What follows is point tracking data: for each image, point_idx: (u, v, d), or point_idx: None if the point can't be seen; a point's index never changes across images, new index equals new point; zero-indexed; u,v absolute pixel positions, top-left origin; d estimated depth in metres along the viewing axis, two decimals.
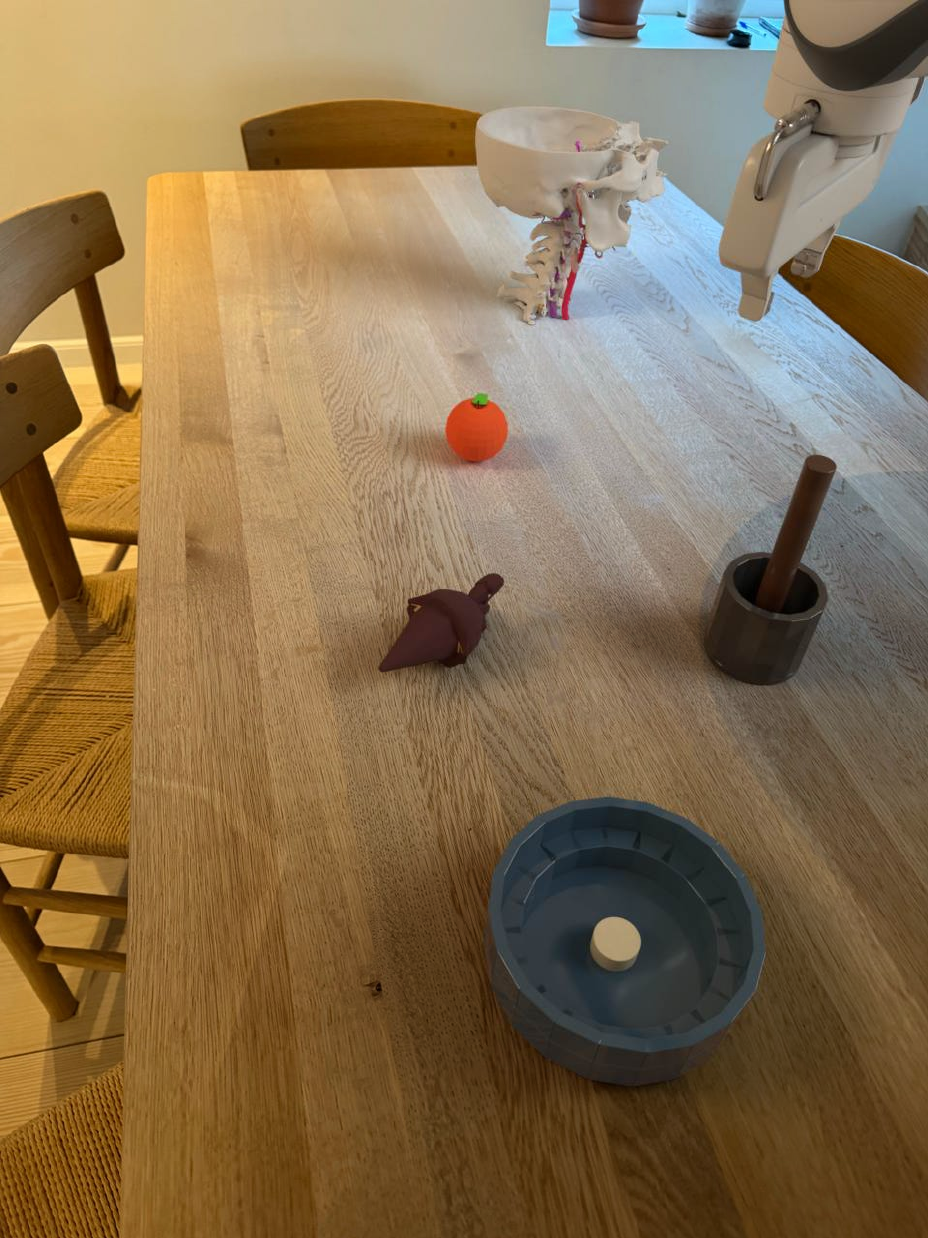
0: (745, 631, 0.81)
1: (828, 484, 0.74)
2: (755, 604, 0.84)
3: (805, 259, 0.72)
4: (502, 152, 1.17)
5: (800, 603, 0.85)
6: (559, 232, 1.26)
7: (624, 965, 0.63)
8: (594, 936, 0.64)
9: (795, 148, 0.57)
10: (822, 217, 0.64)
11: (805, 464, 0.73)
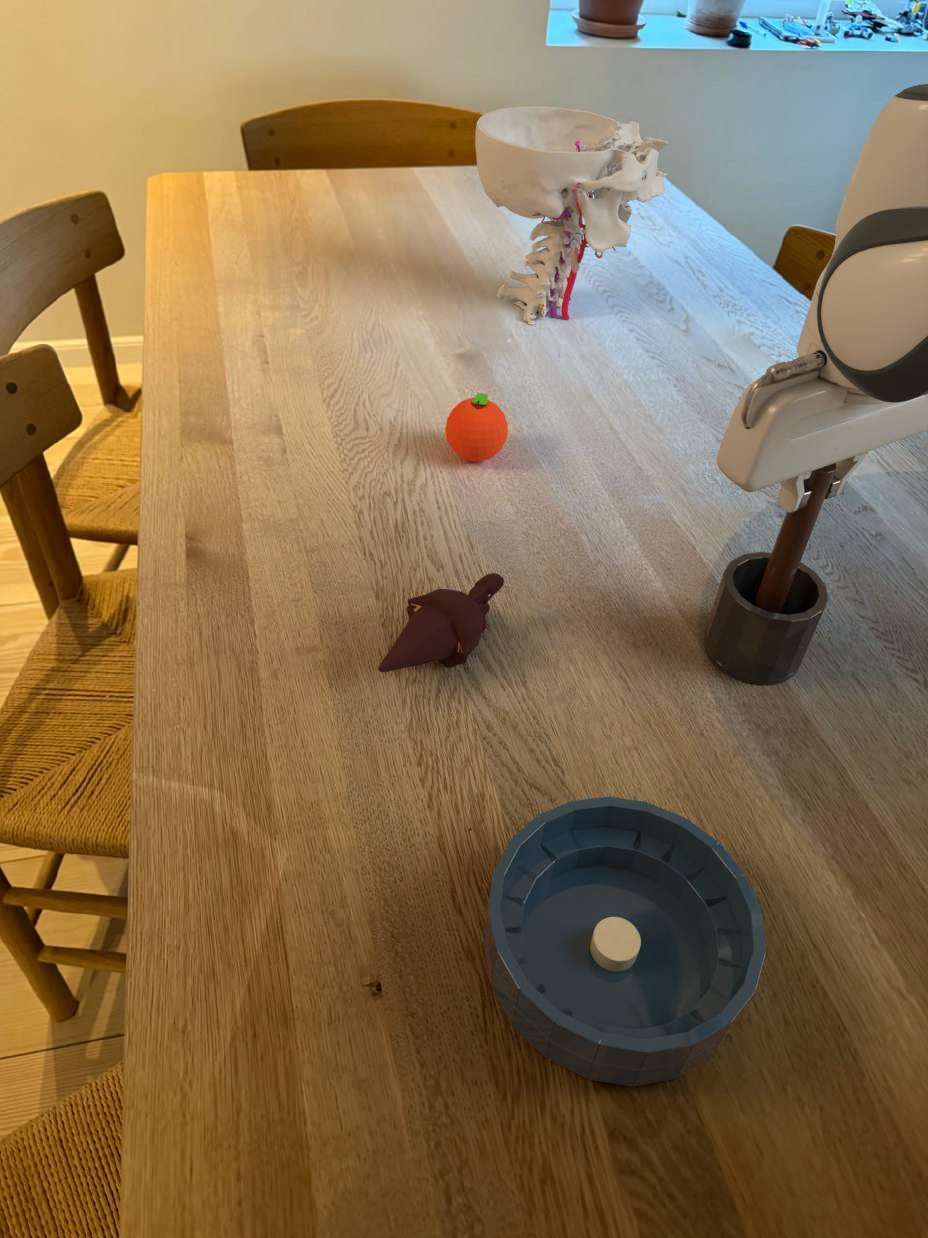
0: (745, 631, 0.81)
1: (828, 484, 0.74)
2: (755, 604, 0.84)
3: None
4: (502, 152, 1.17)
5: (800, 603, 0.85)
6: (559, 232, 1.26)
7: (624, 965, 0.63)
8: (594, 936, 0.64)
9: (786, 392, 0.64)
10: (838, 446, 0.70)
11: None
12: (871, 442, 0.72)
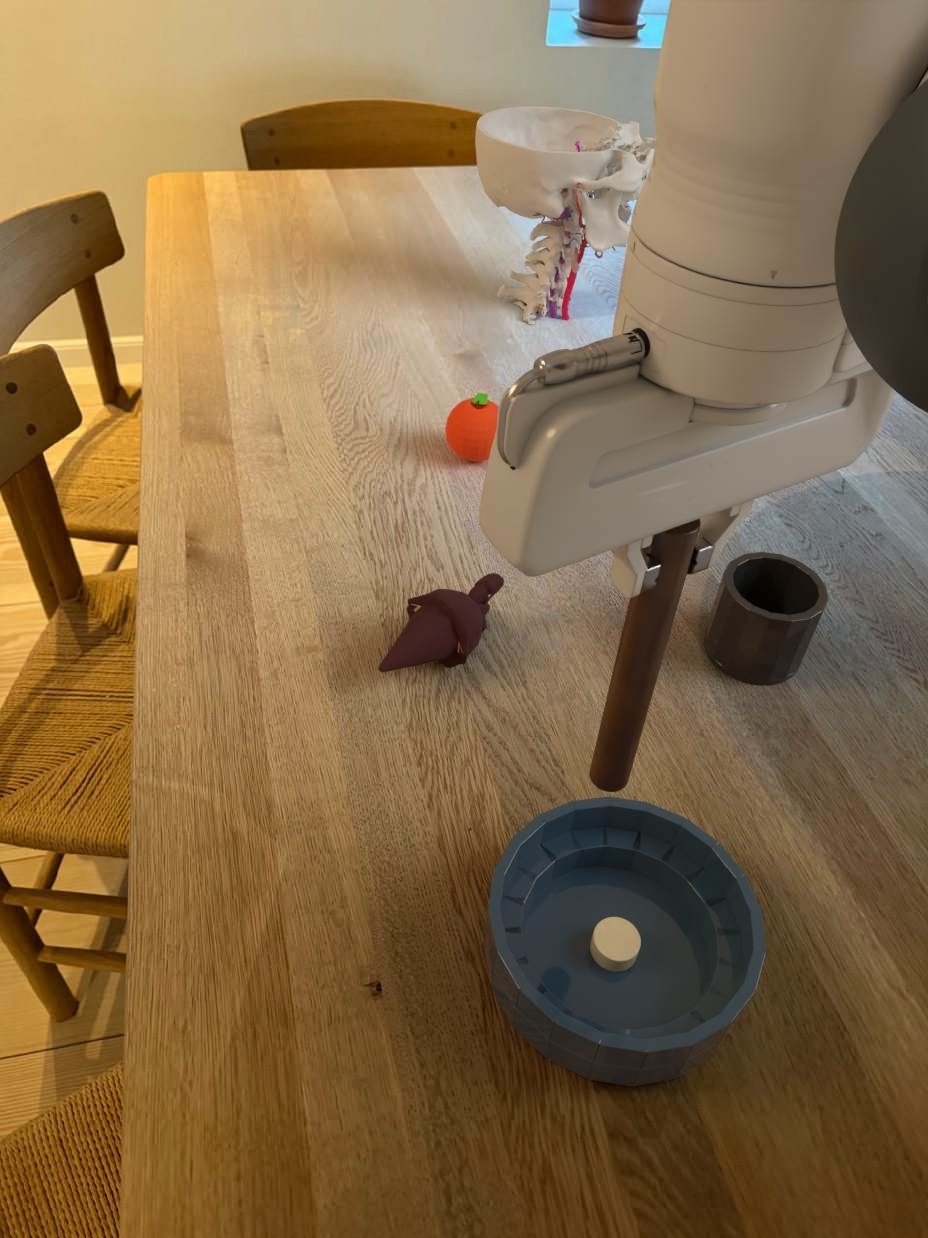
0: (745, 631, 0.81)
1: (688, 553, 0.45)
2: (602, 723, 0.55)
3: None
4: (502, 152, 1.17)
5: (800, 603, 0.85)
6: (559, 232, 1.26)
7: (624, 965, 0.63)
8: (594, 936, 0.64)
9: (572, 405, 0.35)
10: (691, 496, 0.41)
11: None
12: (754, 486, 0.43)
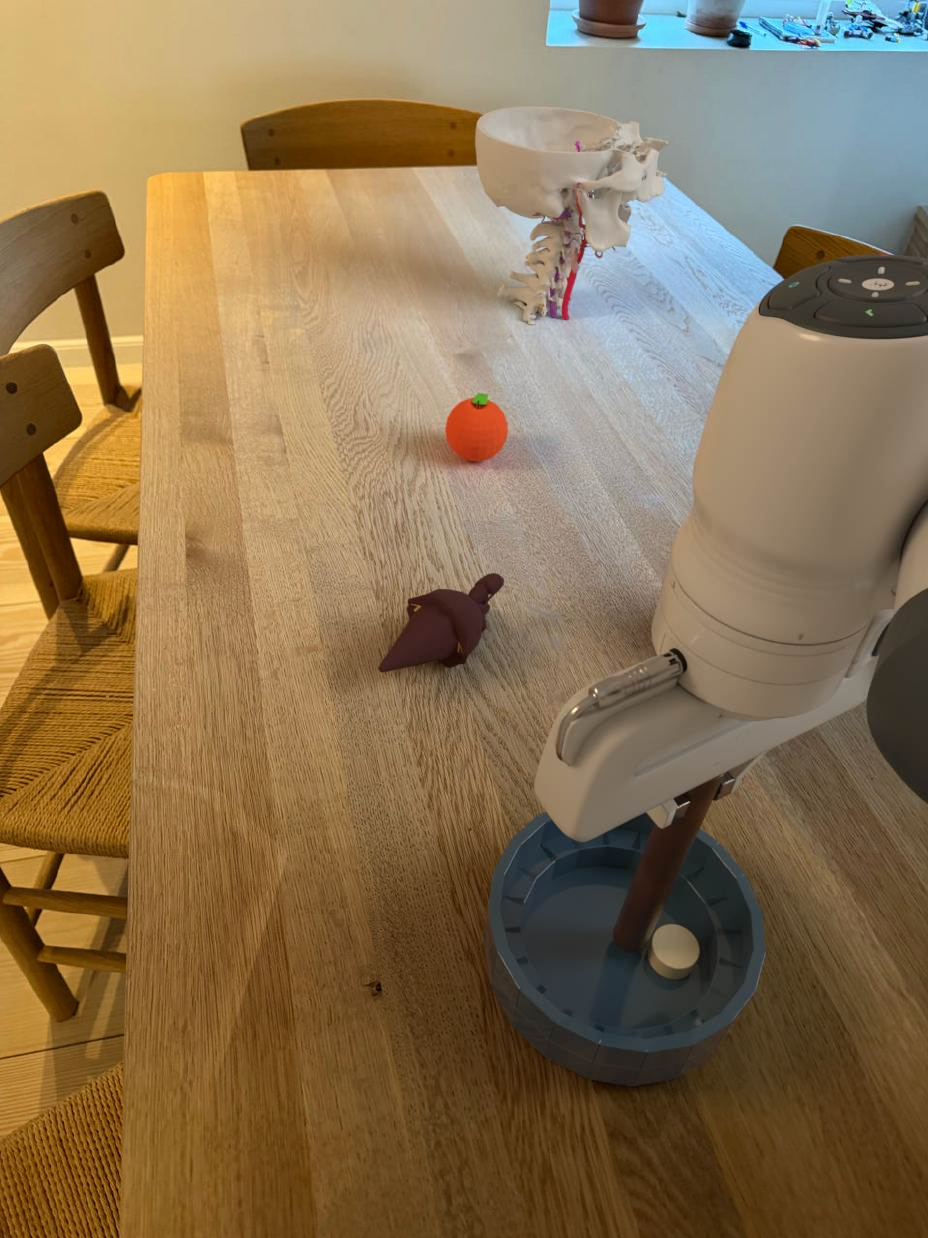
0: None
1: (715, 790, 0.50)
2: (627, 901, 0.61)
3: None
4: (502, 152, 1.17)
5: None
6: (559, 232, 1.26)
7: (681, 974, 0.63)
8: (652, 941, 0.64)
9: (621, 721, 0.41)
10: (719, 761, 0.47)
11: None
12: (773, 742, 0.49)
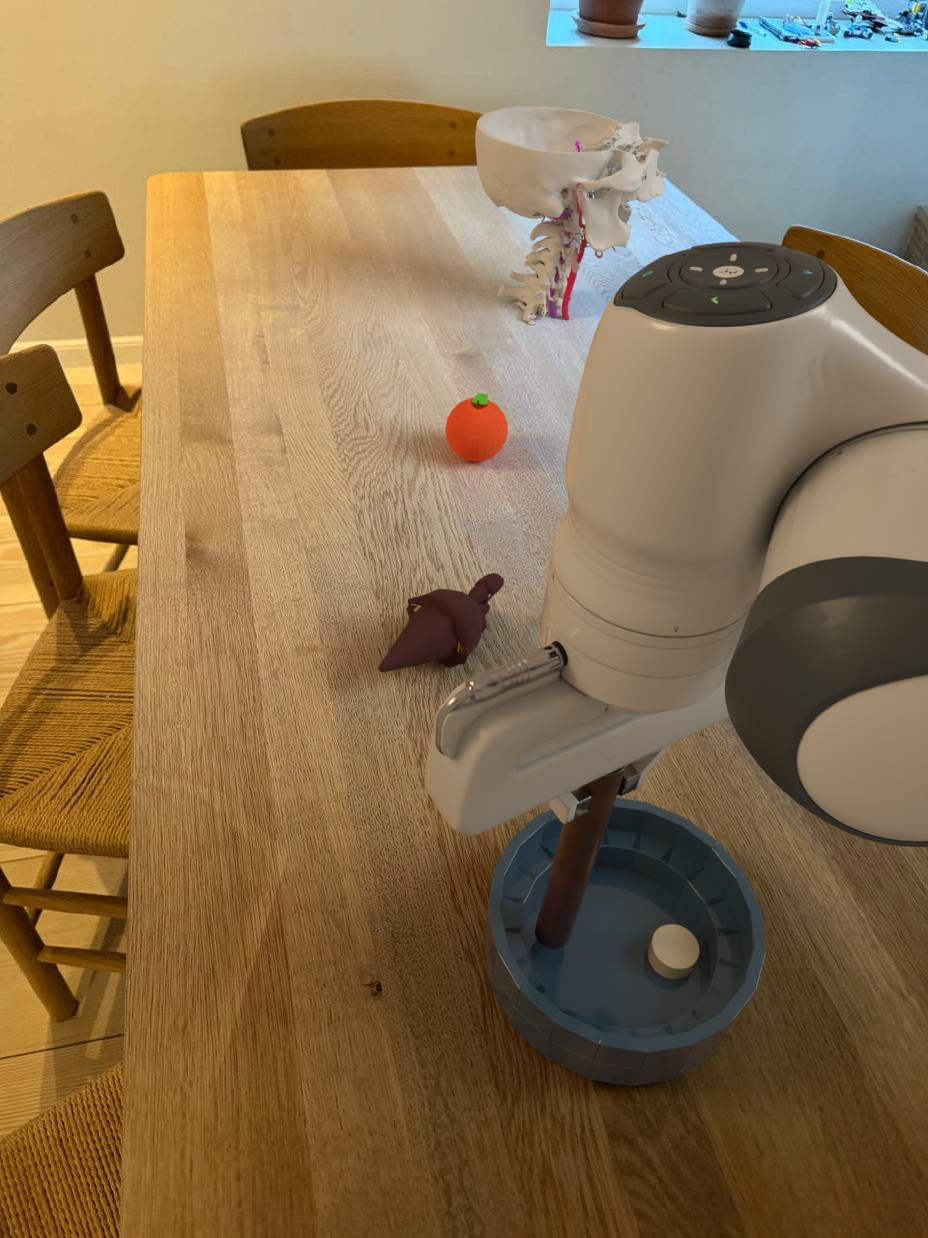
0: None
1: (616, 786, 0.50)
2: (545, 897, 0.60)
3: None
4: (502, 152, 1.17)
5: None
6: (559, 232, 1.26)
7: (681, 974, 0.63)
8: (652, 941, 0.64)
9: (499, 714, 0.40)
10: (613, 756, 0.46)
11: None
12: (671, 736, 0.48)
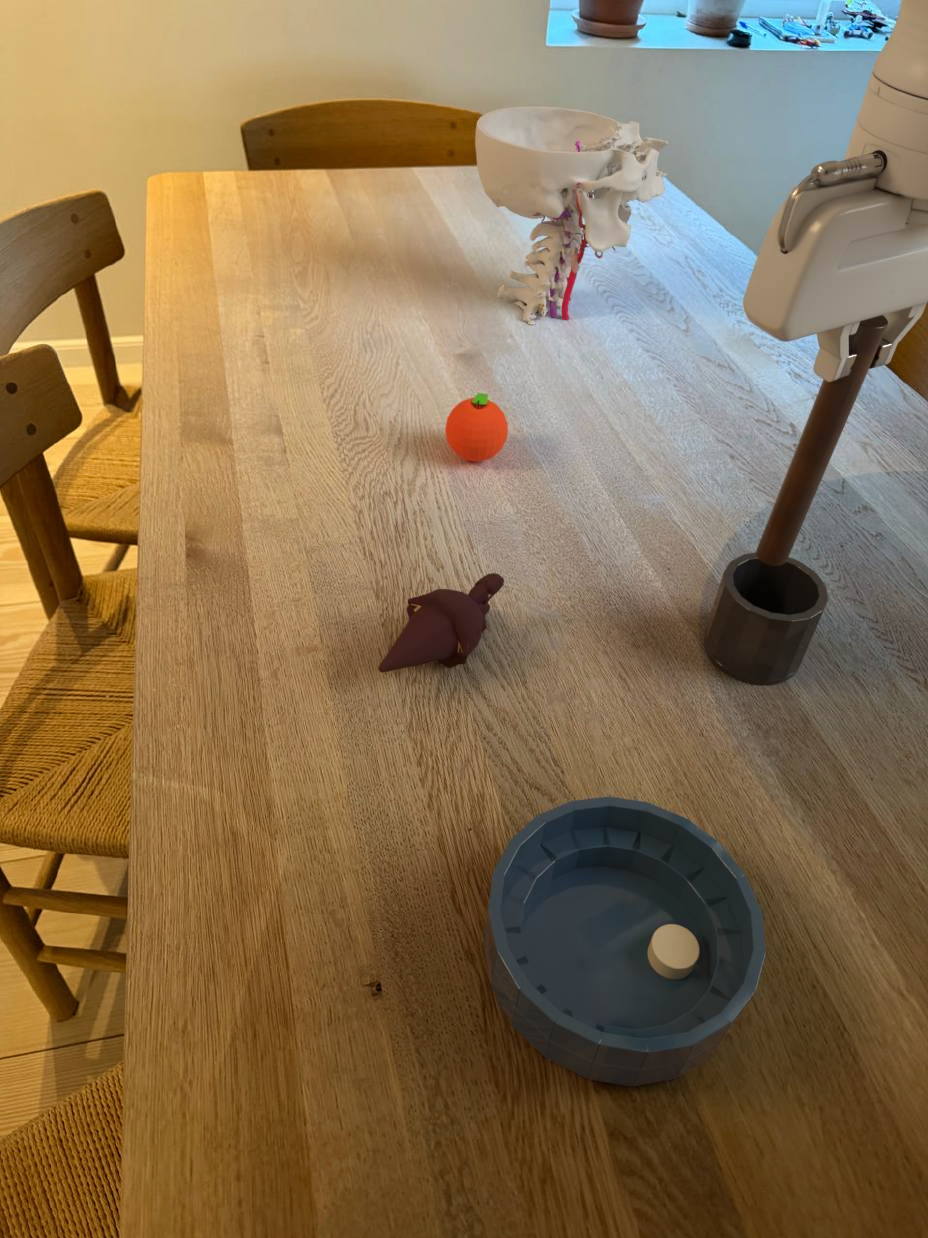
0: (745, 631, 0.81)
1: (877, 344, 0.60)
2: (777, 504, 0.70)
3: None
4: (502, 152, 1.17)
5: (800, 603, 0.85)
6: (559, 232, 1.26)
7: (681, 974, 0.63)
8: (652, 941, 0.64)
9: (835, 202, 0.50)
10: (894, 289, 0.56)
11: None
12: None
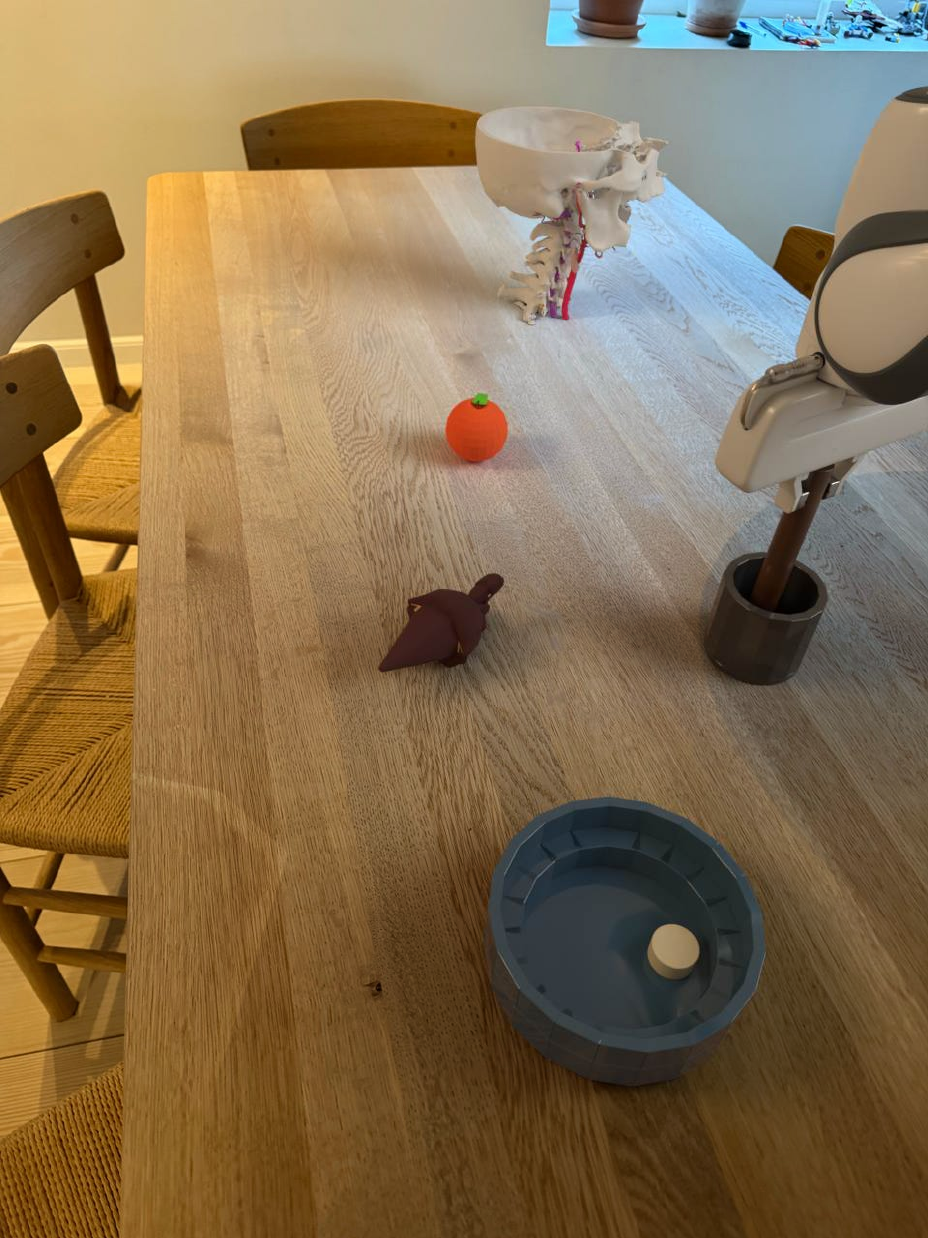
0: (745, 631, 0.81)
1: (826, 482, 0.74)
2: (751, 600, 0.84)
3: None
4: (502, 152, 1.17)
5: (800, 603, 0.85)
6: (559, 232, 1.26)
7: (681, 974, 0.63)
8: (652, 941, 0.64)
9: (784, 394, 0.64)
10: (836, 448, 0.70)
11: None
12: (869, 443, 0.72)
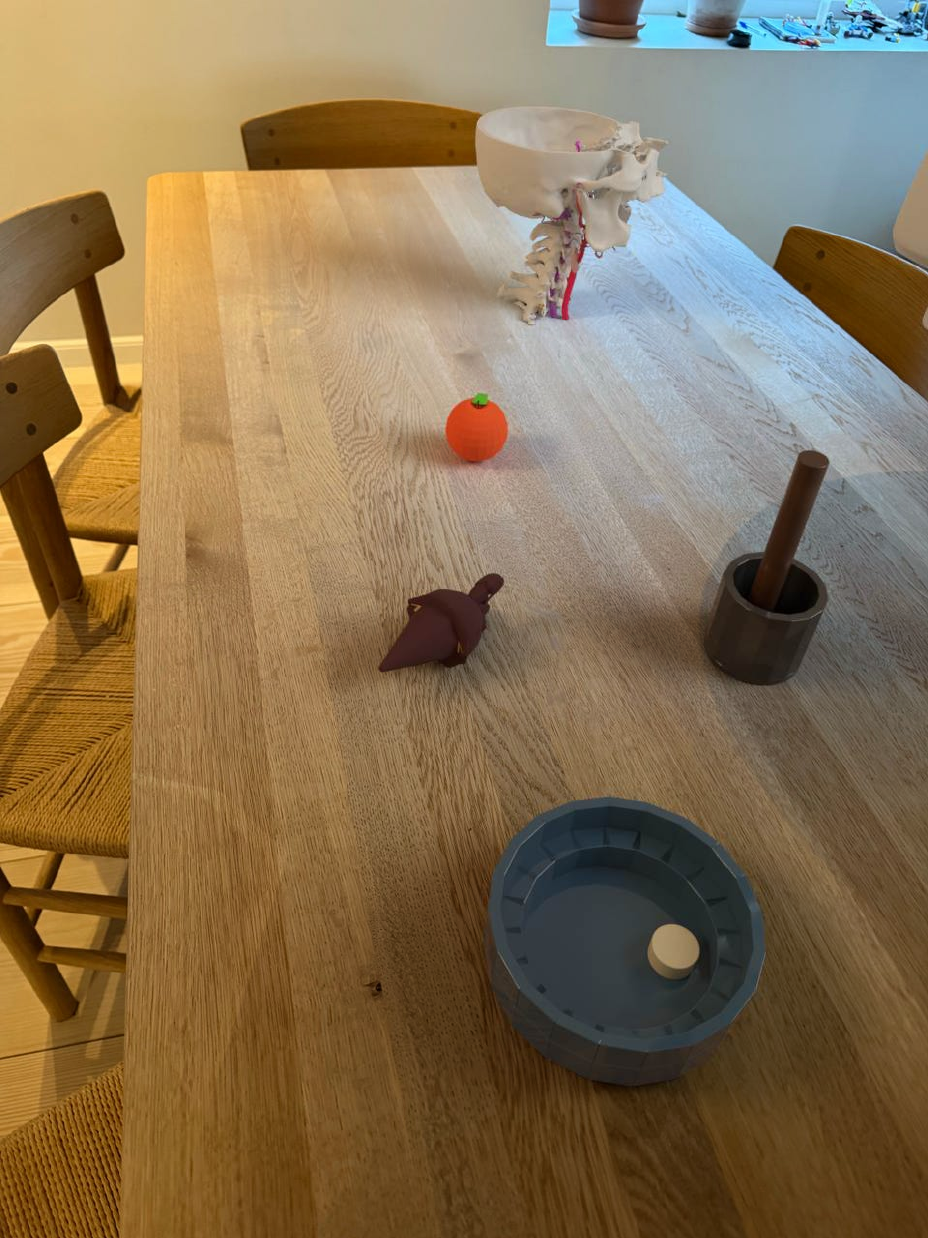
0: (745, 631, 0.81)
1: (821, 479, 0.74)
2: (749, 600, 0.84)
3: None
4: (502, 152, 1.17)
5: (800, 603, 0.85)
6: (559, 232, 1.26)
7: (681, 974, 0.63)
8: (652, 941, 0.64)
9: None
10: None
11: (798, 460, 0.74)
12: None
